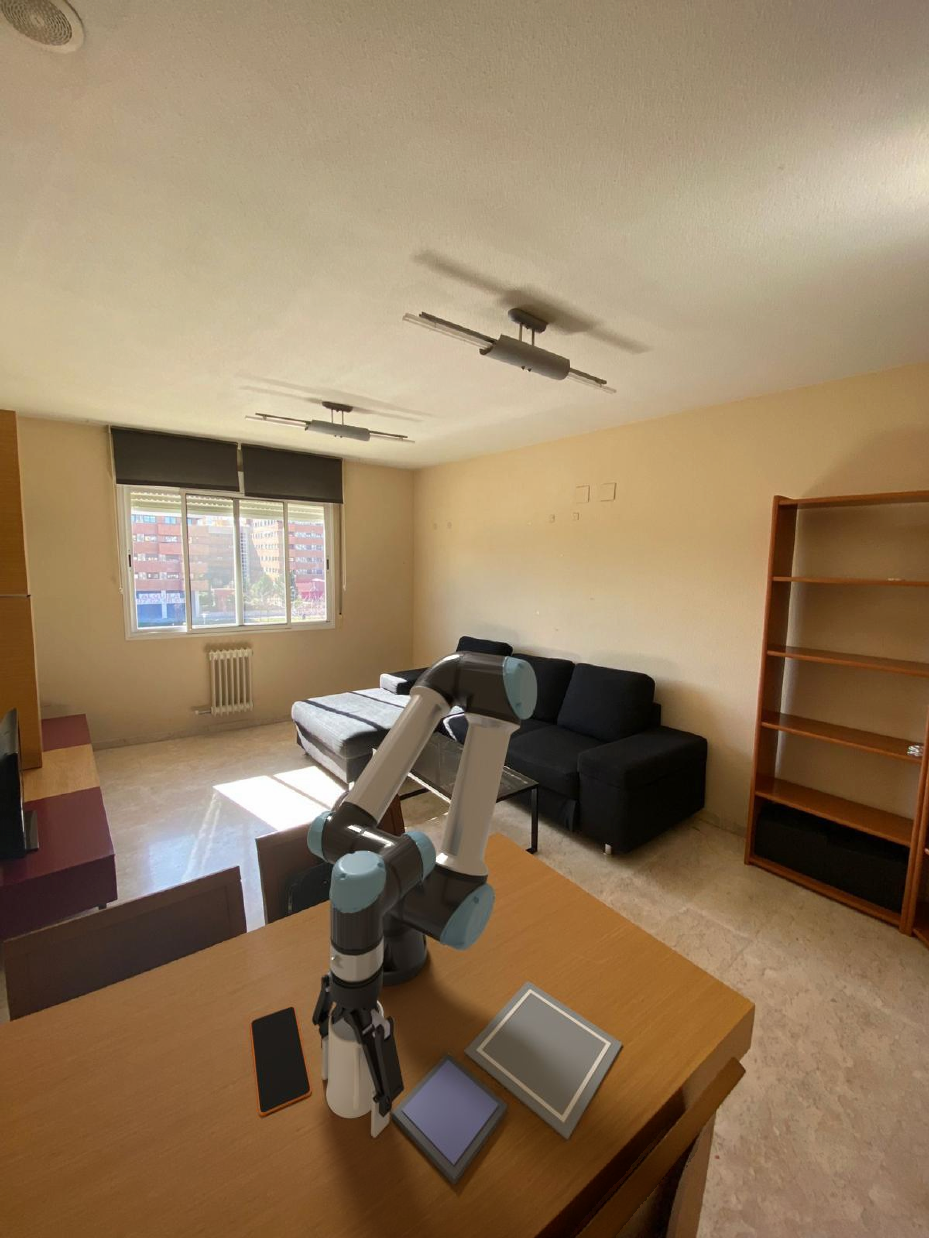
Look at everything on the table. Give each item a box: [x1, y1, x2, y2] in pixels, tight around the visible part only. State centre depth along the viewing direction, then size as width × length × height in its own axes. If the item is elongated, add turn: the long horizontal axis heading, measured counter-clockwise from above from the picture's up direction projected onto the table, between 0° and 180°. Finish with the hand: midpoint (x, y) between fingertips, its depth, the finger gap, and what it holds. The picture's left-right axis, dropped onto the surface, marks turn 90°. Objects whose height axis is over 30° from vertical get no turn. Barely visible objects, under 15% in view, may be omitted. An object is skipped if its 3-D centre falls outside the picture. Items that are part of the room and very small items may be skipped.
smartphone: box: [249, 1005, 313, 1118], centre depth 81 cm, size 8×17×1 cm, turn 27°
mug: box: [325, 1000, 385, 1119], centre depth 74 cm, size 12×8×12 cm
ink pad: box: [391, 1052, 509, 1186], centre depth 73 cm, size 12×12×1 cm
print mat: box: [463, 980, 623, 1141], centre depth 84 cm, size 19×19×1 cm
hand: (354, 1098), depth 75 cm, fingers open, 11 cm apart
